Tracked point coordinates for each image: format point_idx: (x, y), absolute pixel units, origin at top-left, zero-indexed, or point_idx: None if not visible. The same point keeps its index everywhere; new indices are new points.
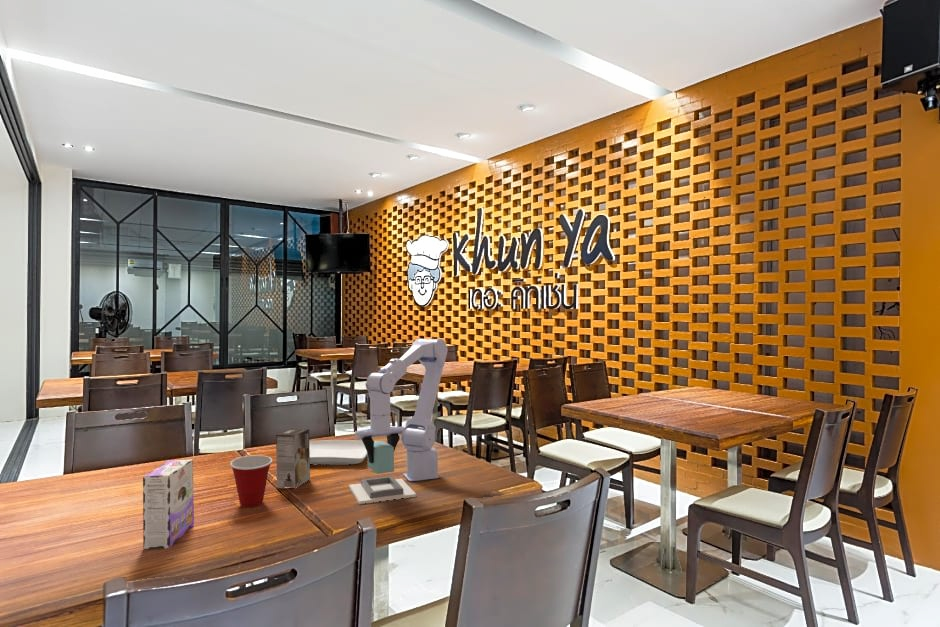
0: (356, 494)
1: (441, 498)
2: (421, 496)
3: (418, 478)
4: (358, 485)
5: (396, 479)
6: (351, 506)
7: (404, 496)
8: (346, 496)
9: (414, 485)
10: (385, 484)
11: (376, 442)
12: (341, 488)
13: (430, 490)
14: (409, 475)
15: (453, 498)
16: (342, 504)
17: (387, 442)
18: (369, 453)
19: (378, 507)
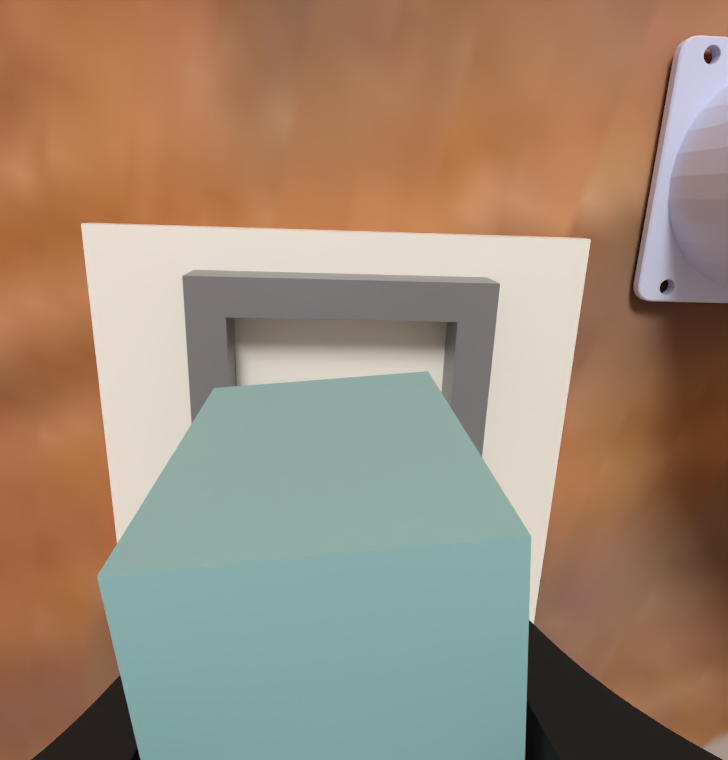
0: (125, 508)
1: (647, 697)
2: (558, 629)
3: (725, 286)
4: (168, 281)
5: (540, 247)
6: (82, 648)
7: None
8: (57, 447)
9: (623, 394)
10: (402, 355)
11: (324, 620)
12: (19, 215)
13: (667, 544)
14: (684, 224)
15: (706, 717)
16: (22, 596)
17: (543, 735)
18: None
19: None
